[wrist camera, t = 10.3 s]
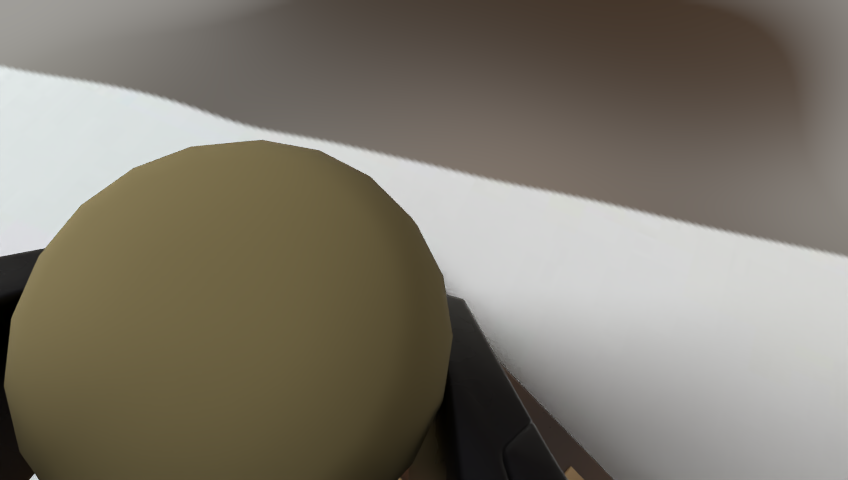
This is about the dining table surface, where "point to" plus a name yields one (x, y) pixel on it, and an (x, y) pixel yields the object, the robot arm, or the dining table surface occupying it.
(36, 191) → the dining table surface
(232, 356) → the chess pawn
